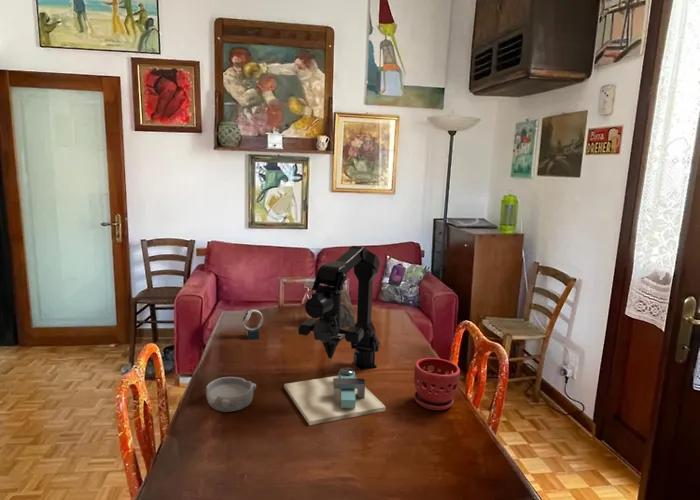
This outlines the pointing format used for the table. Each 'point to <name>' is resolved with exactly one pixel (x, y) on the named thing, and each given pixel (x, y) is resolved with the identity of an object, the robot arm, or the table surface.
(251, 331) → the watch
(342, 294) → the grey tall stone
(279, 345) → the table surface
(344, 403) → the link
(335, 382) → the pintle and keeper
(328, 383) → the base board
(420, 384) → the plant pot
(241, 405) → the dish
